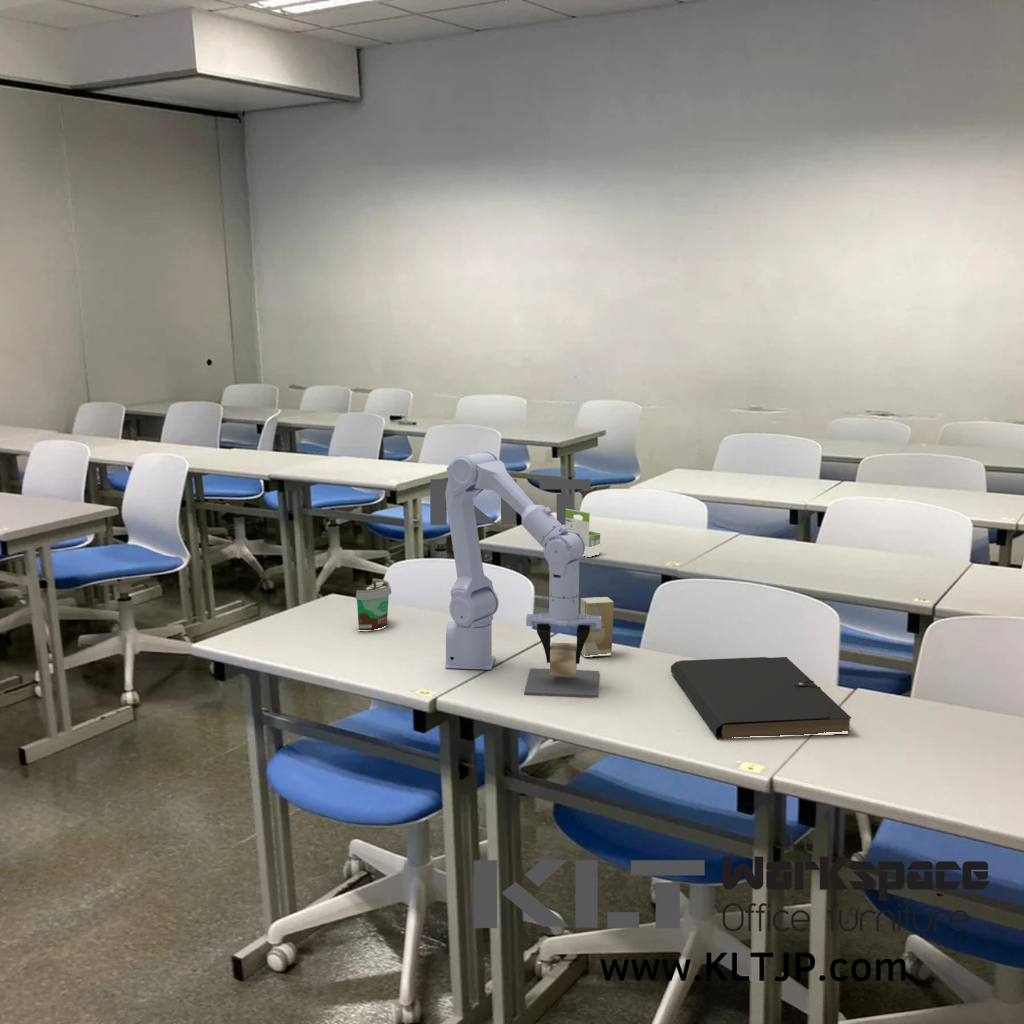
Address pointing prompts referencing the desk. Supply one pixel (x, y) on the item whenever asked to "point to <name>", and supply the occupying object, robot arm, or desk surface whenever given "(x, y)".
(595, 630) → the skincare box
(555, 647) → the maple cube
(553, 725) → the desk surface
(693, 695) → the file folder
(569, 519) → the ink box
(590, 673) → the charcoal mat
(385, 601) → the food container
